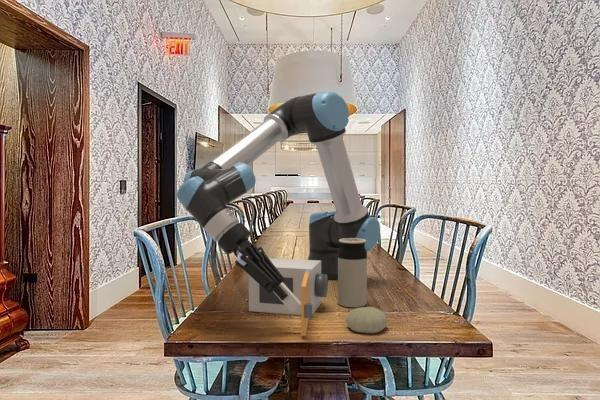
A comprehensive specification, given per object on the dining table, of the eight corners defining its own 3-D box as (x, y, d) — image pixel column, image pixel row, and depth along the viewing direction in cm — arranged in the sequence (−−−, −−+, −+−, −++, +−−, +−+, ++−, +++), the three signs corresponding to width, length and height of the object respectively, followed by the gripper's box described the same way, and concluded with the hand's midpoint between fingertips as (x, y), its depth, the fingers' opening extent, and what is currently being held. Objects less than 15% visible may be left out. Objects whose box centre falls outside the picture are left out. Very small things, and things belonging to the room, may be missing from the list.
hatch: (305, 316, 109) (304, 272, 109) (314, 316, 109) (314, 272, 109) (301, 336, 95) (301, 286, 95) (312, 336, 95) (312, 286, 95)
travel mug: (359, 310, 116) (359, 242, 115) (332, 305, 120) (332, 240, 119) (371, 302, 123) (371, 239, 122) (345, 298, 127) (345, 237, 126)
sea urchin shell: (339, 315, 106) (362, 291, 106) (362, 337, 107) (384, 313, 107) (346, 327, 97) (372, 302, 97) (371, 351, 98) (396, 326, 98)
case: (329, 303, 122) (329, 260, 121) (320, 318, 109) (320, 270, 109) (263, 298, 127) (263, 257, 126) (247, 312, 114) (246, 267, 113)
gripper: (227, 224, 96) (301, 305, 92) (249, 218, 108) (314, 290, 105) (205, 247, 97) (277, 327, 94) (229, 239, 110) (293, 310, 106)
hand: (296, 307), depth 99 cm, fingers closed
